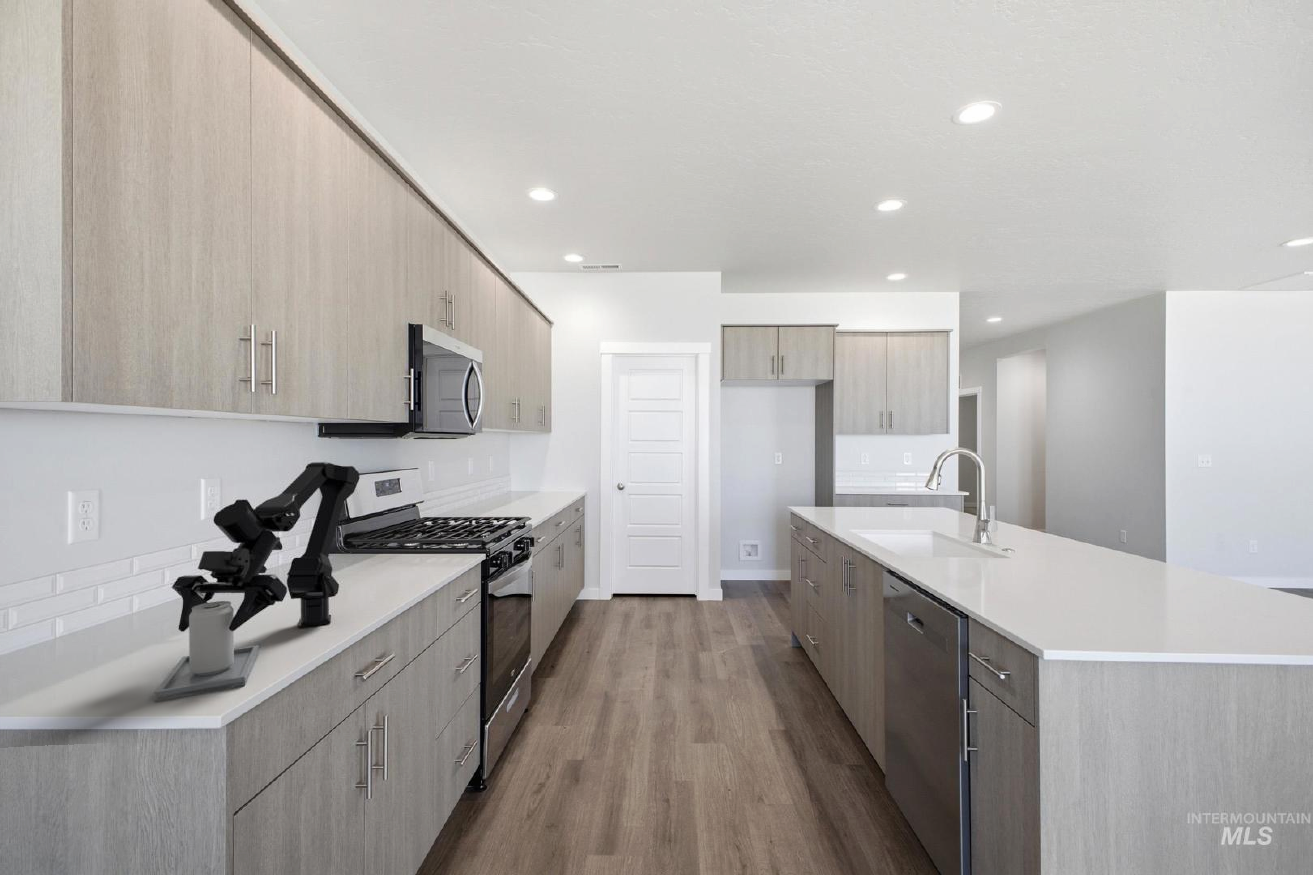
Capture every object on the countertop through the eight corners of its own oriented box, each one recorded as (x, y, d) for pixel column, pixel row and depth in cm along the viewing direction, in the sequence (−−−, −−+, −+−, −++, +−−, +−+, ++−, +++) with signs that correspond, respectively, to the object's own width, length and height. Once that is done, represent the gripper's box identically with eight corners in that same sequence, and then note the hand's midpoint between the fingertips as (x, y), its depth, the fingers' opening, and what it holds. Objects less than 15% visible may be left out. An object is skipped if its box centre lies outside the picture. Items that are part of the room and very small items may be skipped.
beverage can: (189, 680, 98) (189, 612, 99) (189, 669, 103) (188, 604, 103) (235, 670, 103) (234, 604, 103) (232, 660, 107) (232, 597, 108)
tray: (182, 665, 108) (182, 656, 108) (258, 652, 114) (258, 645, 114) (154, 702, 92) (154, 692, 92) (244, 685, 98) (244, 676, 98)
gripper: (179, 533, 107) (124, 608, 96) (276, 532, 107) (232, 607, 96) (213, 565, 115) (165, 638, 104) (303, 564, 115) (265, 637, 104)
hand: (205, 630), depth 102 cm, fingers open, 9 cm apart
